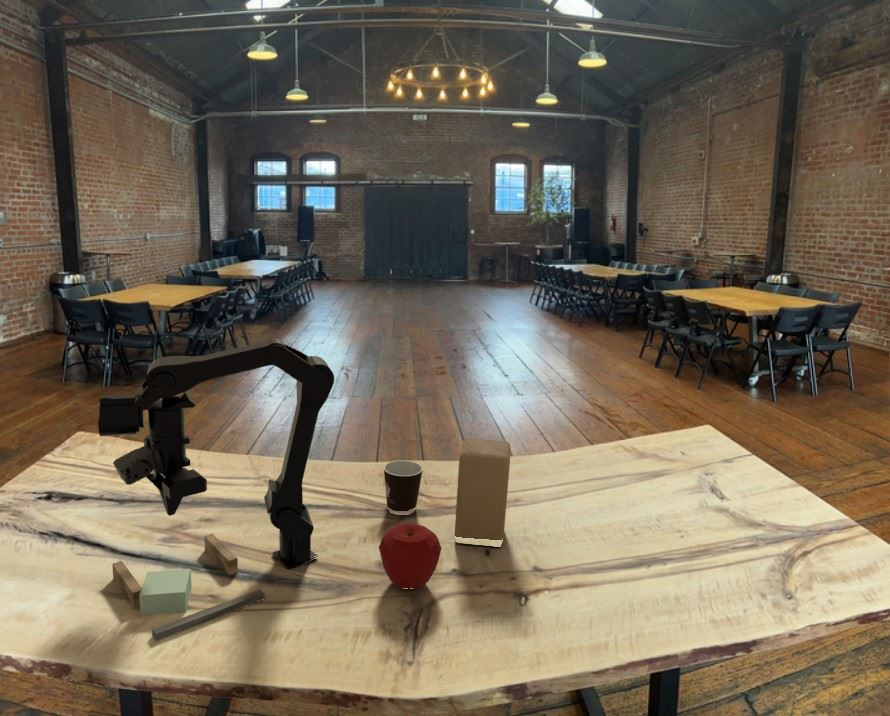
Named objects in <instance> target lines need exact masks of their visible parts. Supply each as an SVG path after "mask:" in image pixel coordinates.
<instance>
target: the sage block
mask: <svg viewBox="0 0 890 716" xmlns="http://www.w3.org/2000/svg"><path fill="white" fill-rule="evenodd" d="M141 588H142V589H141V592H140V595H139V599H140V607H139V610H140V611H139V612H140V613H139V614H140V617H141V616H152V615H164V614H163V613H167V614H176V613H175V612H179V613H187V610H188V605H189V601H190V597H191V592H192V569H191V568H183V569H181V568H180V569H170V570H154V571H147V572H146V576H145V578H144V582H143V584H142V586H141ZM186 609H187V610H186ZM183 611H185V612H183Z"/></svg>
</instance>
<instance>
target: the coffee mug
mask: <svg viewBox="0 0 890 716" xmlns="http://www.w3.org/2000/svg"><path fill="white" fill-rule="evenodd" d="M383 474H384V485H385V499H386V507H387V506H388V508H390V509H392V510H395V511H408V510H410V509H413V508H415V507H416V508H417V505H418V499H419V492H420V487H421V482H422V481H421V480H422V476H423V466H422V465H421V464H420V463H418V462H416V461H412V460H402V459H400V460H393V461H389V462H387V463H385V464H384V465H383Z"/></svg>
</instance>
